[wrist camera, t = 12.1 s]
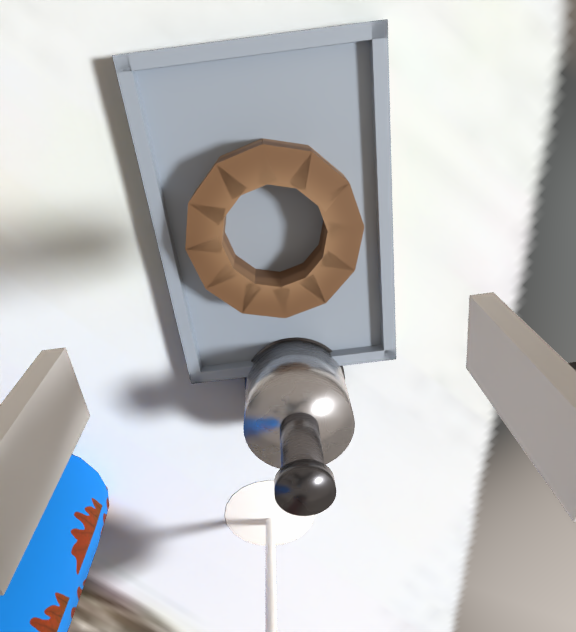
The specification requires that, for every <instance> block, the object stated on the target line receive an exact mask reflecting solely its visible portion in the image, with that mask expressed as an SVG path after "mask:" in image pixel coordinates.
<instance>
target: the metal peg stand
mask: <svg viewBox="0 0 576 632" xmlns="http://www.w3.org/2000/svg"><path fill="white" fill-rule="evenodd" d="M330 352H332V350H331V349H329V348H328V347H327V346H325V345H324V344H322V343H320V342H317V341H315V340H312V339H307V338H299V337H294V338H285V339H281V340H278V341H275V342H273V343H270V344H269V345H267V346H265V347H264V348H262V349H261V350H260V351H259V352H258V353H257V354H256V355H255V356H254V357H253V359H252V360H251V362H253V367H252V368H251V370H250V372H249V375H248V377H245V388H246V397H245V413H244V436H245V439H246V442H247V444H248V446H249V448H250V449H251V451H252V452H253V453H254V454H255V455H256V456H257V457H258V458H259V459H261V460H262V461H264V462H265V463H267V464H269V465H271V466H274V467H276V468H280V470H279V471H278V473H277V474H276V476H275V480H274V495H275V500H276V502H277V504H278V506H279V507H280V508H281V509H283V510H284V511H286V512H287V513H290V514H292V515H297V516H310V515H315V514H318V513H320V512H322V511H324V510H326V509H327V508H328V507H329V506H330V505H331V504H332V503H333V501H334V499H335V496H336V487H335V481H334V476H333V473H332V471H331V470H330V469H329V467H327V466H326V465H325V464H327V463H329V462H331V461H333V460H334V459H336V458H337V457H338V456H339V455H340V454H342V452H343V451H344V450H345V449H346V448H347V446H348V445H349V443H350V441H351V439H352V436H353V433H354V428H355V421H354V415H353V411H352V407H351V403H350V399H349V395H348V391H347V387H346V384H345V375H344V370H343V366H339V365H338V363H337V362H336V361H335V360H334V359H333V358H332V357H331V353H330Z"/></svg>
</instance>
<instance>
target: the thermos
mask: <svg viewBox="0 0 576 632" xmlns="http://www.w3.org/2000/svg"><path fill="white" fill-rule="evenodd" d="M108 508H109V499H108V489H107V487H106V486H105V484H104V482H103V481H102V479H101V477H100V475H99V474H98V472H97V471H95V470H94V469H93V468H92V467H91V466H89V465H88V464H87V463H86V462H85V461H83V460H82V459H81V458H79V457H77V456H75V455H71V457H70V459H69V461H68V463H67V465H66V467H65V469H64V471H63V473H62V476H61V478H60V480H59V482H58V484H57V486H56V488H55V490H54V492H53V494H52V496H51V498H50V500H49V502H48V505H47V507H46V509H45V511H44V513H43V515H42V517H41V519H40V521H39V523H38V525H37V527H36V529H35V532H34V534H33V536H32V538H31V540H30V542H29V544H28V546H27V548H26V550H25V552H24V554H23V556H22V558H21V561H20V563H19V565H18V567H17V569H16V571H15V573H14V575H13V577H12V579H11V581H10V583H9V585H8V588H7V590H6V592H5V594H4V595H0V632H68V629H69V626H70V623H71V621H72V618H73V615H74V612H75V609H76V606H77V603H78V601H79V598H80V595H81V592H82V589H83V586H84V584H85V581H86V578H87V575H88V572H89V569H90V567H91V564H92V561H93V558H94V555H95V552H96V550H97V547H98V543H99V540H100V536H101V533H102V529H103V526H104V522H105V519H106V515H107V512H108Z"/></svg>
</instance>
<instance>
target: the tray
mask: <svg viewBox="0 0 576 632" xmlns="http://www.w3.org/2000/svg"><path fill="white" fill-rule="evenodd" d="M112 57H113V61H114V65H115V69H116V73H117V78H118V82H119V86H120V90H121V94H122V98H123V102H124V107H125V111H126V115H127V119H128V123H129V127H130V132H131V136H132V140H133V144H134V148H135V152H136V156H137V161H138V165H139V169H140V173H141V177H142V181H143V185H144V190H145V194H146V198H147V202H148V206H149V210H150V214H151V219H152V223H153V227H154V231H155V235H156V239H157V244H158V248H159V252H160V256H161V260H162V264H163V268H164V273H165V277H166V281H167V285H168V289H169V293H170V297H171V302H172V306H173V310H174V314H175V318H176V322H177V327H178V331H179V335H180V339H181V343H182V347H183V351H184V356H185V360H186V364H187V368H188V372H189V376H190V380H191V384H194V383H202V382H210V381H219V380H227V379H235V378H244V377H248V375H249V372H250V370H251V368H252V367H253V362H251V360H252V359H253V357H254V356H255V355H256V354H257V353H258V352H259V351H260V350H261V349H262V348H264V347H265V346H267V345H269V344H270V343H273V342H275V341H278V340H281V339H285V338H294V337H299V338H307V339H312V340H315V341H317V342H320V343H322V344H324V345H325V346H327V347H328V348H329V349H331V350H332V352H330V353H331V357H332V358H333V359H334V360H335V361H336V362H337V363H338V365H339V366H343V365H352V364H360V363H368V362H377V361H385V360H393V359H396V332H395V293H394V253H393V214H392V175H391V135H390V96H389V57H388V19H386V20H378V21H370V22H363V23H355V24H348V25H340V26H332V27H325V28H317V29H309V30H302V31H294V32H287V33H279V34H271V35H264V36H256V37H249V38H241V39H233V40H226V41H218V42H211V43H203V44H195V45H188V46H180V47H173V48H165V49H157V50H150V51H142V52H134V53H127V54H119V55H112ZM263 138H265V139H271V140H278V141H285V142H291V143H298V144H305V145H309V146H310V147H311V148H313V149H314V150H315V151H316V152H317V153H319V154H320V155H321V156H322V157H323V158H325V159H326V160H327V161H328V162H329V163H331V164H332V165H333V166H334V167H335V168H337V169H338V170H339V171H340V172H341V173H343V175H344V176H345V177H346V179H347V180H348V181H349V183H350V185H351V188H352V191H353V194H354V197H355V200H356V203H357V206H358V209H359V212H360V215H361V218H362V221H363V224H364V232H363V236H362V241H361V246H360V250H359V255H358V259H357V264H356V269H355V271H354V272H353V273H352V275H351V276H350V277H349V278H348V279H347V280H346V281H345V282H344V284H343V285H342V286H341V287H340V288H339V289H338V290H337V291H336V293H335V294H334V295H333V296H332V297H331V298H330V299H329V300H328V302H327V303H325V304H323V305H320V306H317V307H315V308H312V309H309V310H307V311H304V312H301V313H299V314H296V315H293V316H290V317H288V318H277V317H268V316H260V315H251V314H242V313H241V312H239V311H238V310H236V309H235V308H233V307H232V306H230V305H229V304H227V303H226V302H224V301H223V300H221V299H220V298H218V297H217V296H215V295H214V294H212V293H211V292H209V291H208V290H206V289H205V287H204V285H203V283H202V281H201V279H200V277H199V275H198V273H197V271H196V269H195V267H194V265H193V264H192V262H191V260H190V258H189V256H188V254H187V252H186V250H185V244H186V228H187V211H188V202H189V201H190V199H191V197H192V196H193V194H194V192H195V191H196V189H197V188H198V187H199V185H200V184H201V182H202V181H203V179H204V178H205V177H206V175H207V174H208V172H209V171H210V170H211V168H212V167H213V165H214V164H215V162H216V161H217V160H218V158H219V157H220V156H222V155H224V154H226V153H229V152H231V151H234V150H236V149H238V148H241V147H243V146H245V145H248V144H250V143H252V142H255V141H257V140H259V139H263ZM322 224H323V218H322V215H321V212H320V210H319V207H318V205H316V204H315V203H314V202H313V201H311V200H310V199H309V198H308V197H306V196H305V195H304V194H303V193H301V192H300V191H299V190H298V189H296V188H290V187H283V186H275V185H268V184H267V185H265V186H262V187H260V188H257V189H255V190H253V191H250V192H248V193H245V194H243V195H241V196H240V197H239V198H238V200H237V201H236V203H235V204H234V205H233V207H232V208H231V209H230V211H229V212H228V213H227V215H226V225H225V233H226V235H227V237H228V240H229V242H230V244H231V246H232V248H233V250H234V252H235V254H236V255H237V256H238V257H240V258H241V259H243V260H244V261H245V262H247V263H248V264H250V265H251V266H252V267H254V268H255V269H262V270H270V271H278V272H281V271H283V270H286V269H289V268H291V267H294V266H296V265H299V264H301V263H303V262H304V261H305V260H306V259H307V258H308V256H309V255H310V254H311V253H312V252H313V250H314V249H315V248H316V247H317V246H318V244H319V240H320V235H321V229H322Z"/></svg>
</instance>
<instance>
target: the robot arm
mask: <svg viewBox="0 0 576 632" xmlns="http://www.w3.org/2000/svg"><path fill="white" fill-rule="evenodd" d="M466 368H467V370H468V371H469V373H470V374H471V375H472V377H473V378H474V380H475V381H476V383H477V384H478V385H479V387H480V388H481V390H482V391H483V393H484V394H485V395H486V397H487V398H488V400H489V401H490V403H491V404H492V406H493V407H494V408H495V410H496V411H497V413H498V414H499V416H500V417H501V418H502V420H503V421H504V423H505V424H506V426H507V427H508V428H509V430H510V431H511V433H512V434H513V436H514V437H515V438H516V440H517V441H518V443H519V444H520V445H521V447H522V449H523V450H524V451H525V453H526V454H527V456H528V457H529V458H530V460H531V462H532V463H533V464H534V466H535V467H536V469H537V470H538V472H539V473H540V474H541V476H542V477H543V479H544V480H545V481H546V483H547V484H548V486H549V487H550V489H551V490H552V492H553V493H554V495H555V496H556V497H557V499H558V500H559V502H560V503H561V504H562V506H563V507H564V509H565V510H566V512H567V513H568V515H569V516H570V517H571V519H572V520H573V522H576V362H572V363H567V362H566V361H565V360H564V359H563V358H562V357H561V356H560V355H559V354H558V353H557V352H555V351H554V350H553V349H552V348H551V347H550V346H549V345H548V344H547V343H546V342H545V341H544V340H543V339H542V338H541V337H540V336H539V335H538V334H537V333H536V332H534V331H533V330H532V329H531V328H530V327H529V326H528V325H527V324H526V323H525V322H524V321H523V320H522V319H521V318H520V317H519V316H517V314H516V313H514V312H513V311H512V310H511V309H510V308H509V307H508V306H507V305H506V304H505V303H504V302H503V301H502V300H501V299H500V298H499V297H498V296H497V295H496V294H494V293H493V292H492V293H485V294H477V295H470V298H469V319H468V340H467V361H466ZM89 417H90V414H89V411H88V409H87V406H86V403H85V400H84V398H83V395H82V392H81V389H80V386H79V384H78V381H77V378H76V375H75V373H74V370H73V367H72V364H71V362H70V359H69V356H68V353H67V350H66V348H58V349H50V350H42V351H41V352H40V354H39V355H38V356H37V358H36V359H35V360H34V362H33V363H32V364H31V365H30V367H29V368H28V369H27V371H26V372H25V373H24V375H23V376H22V377H21V379H20V380H19V381H18V382H17V384H16V385H15V386H14V388H13V389H12V390H11V392H10V393H9V394H8V396H7V397H6V398H5V399H4V401H3V402H2V403H1V405H0V595H4V594H5V592H6V590H7V588H8V585H9V583H10V581H11V579H12V577H13V575H14V573H15V571H16V569H17V567H18V565H19V563H20V561H21V558H22V556H23V554H24V552H25V550H26V548H27V546H28V544H29V542H30V540H31V538H32V536H33V534H34V532H35V529H36V527H37V525H38V523H39V521H40V519H41V517H42V515H43V513H44V511H45V509H46V507H47V505H48V502H49V500H50V498H51V496H52V494H53V492H54V490H55V488H56V486H57V484H58V482H59V480H60V478H61V476H62V473H63V471H64V469H65V467H66V465H67V463H68V461H69V459H70V457H71V455H72V453H73V451H74V449H75V446H76V444H77V442H78V440H79V438H80V436H81V434H82V432H83V430H84V428H85V426H86V424H87V422H88V419H89Z"/></svg>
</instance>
